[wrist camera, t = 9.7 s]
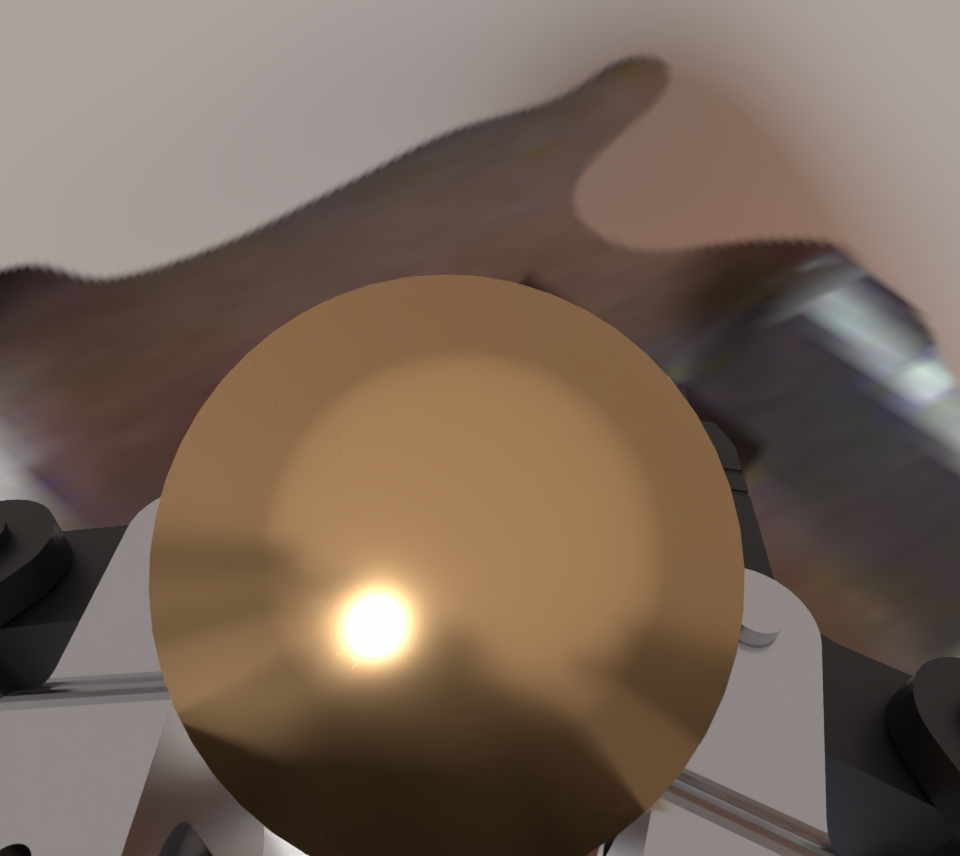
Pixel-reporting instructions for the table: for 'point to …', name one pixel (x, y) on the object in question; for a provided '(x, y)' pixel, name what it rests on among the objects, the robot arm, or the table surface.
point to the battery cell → (446, 576)
